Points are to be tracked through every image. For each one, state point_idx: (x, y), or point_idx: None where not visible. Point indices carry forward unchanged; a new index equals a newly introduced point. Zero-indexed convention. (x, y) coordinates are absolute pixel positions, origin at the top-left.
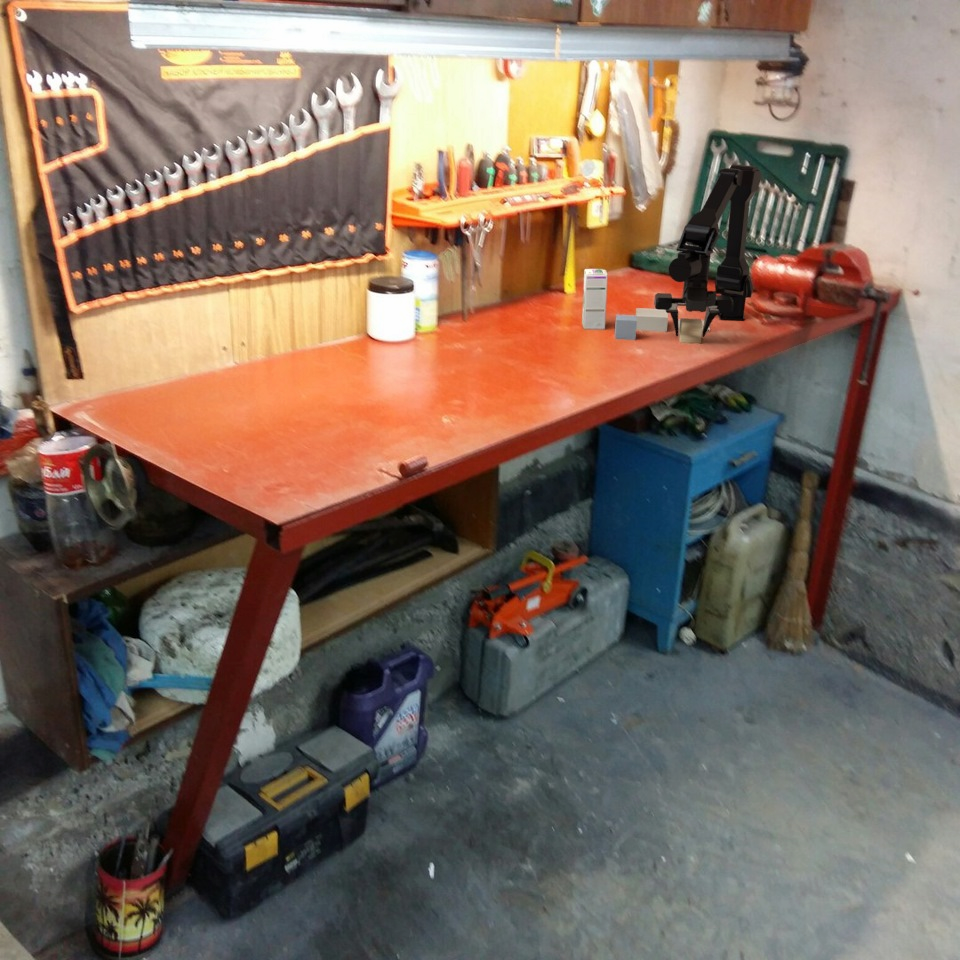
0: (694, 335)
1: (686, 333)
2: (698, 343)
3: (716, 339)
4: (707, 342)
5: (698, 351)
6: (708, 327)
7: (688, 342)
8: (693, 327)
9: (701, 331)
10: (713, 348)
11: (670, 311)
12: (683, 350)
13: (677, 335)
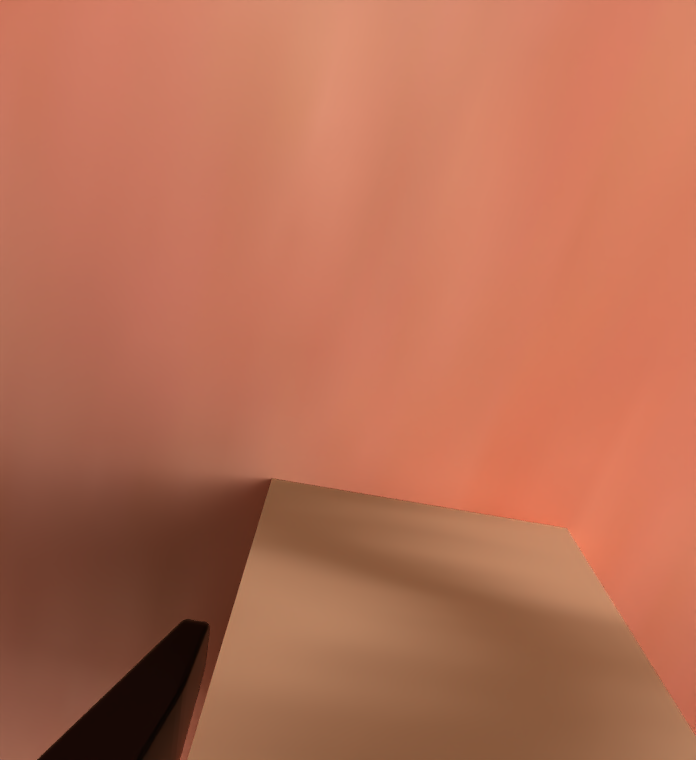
0: (378, 584)
1: (542, 630)
2: (304, 486)
3: (12, 638)
4: (156, 532)
5: (429, 57)
6: (40, 758)
7: (451, 518)
8: (436, 738)
9: (238, 630)
10: (110, 237)
11: None
12: (690, 139)
13: None
